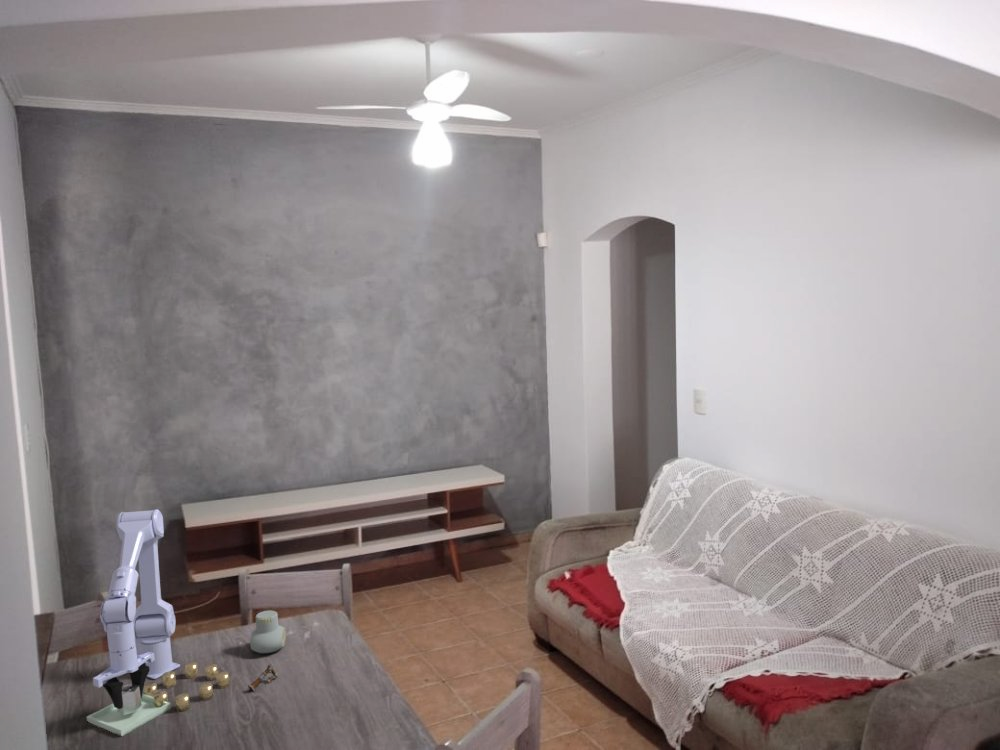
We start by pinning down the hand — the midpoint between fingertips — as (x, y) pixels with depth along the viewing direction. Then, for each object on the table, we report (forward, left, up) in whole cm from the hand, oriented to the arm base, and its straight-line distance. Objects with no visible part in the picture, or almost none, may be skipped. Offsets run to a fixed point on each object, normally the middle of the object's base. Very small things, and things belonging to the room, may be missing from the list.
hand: (128, 702), depth 188 cm
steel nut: (0, 0, -2) cm, 2 cm away
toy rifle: (+18, +25, -4) cm, 31 cm away
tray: (0, 0, -3) cm, 3 cm away
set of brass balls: (+3, +14, -3) cm, 15 cm away
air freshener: (+4, +40, -4) cm, 40 cm away
